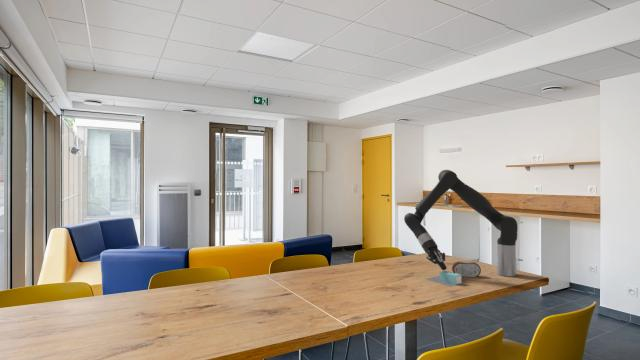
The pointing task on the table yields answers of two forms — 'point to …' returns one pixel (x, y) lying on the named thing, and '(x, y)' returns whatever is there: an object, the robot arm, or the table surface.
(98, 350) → the table surface
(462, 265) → the tin
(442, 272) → the block
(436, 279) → the mat
